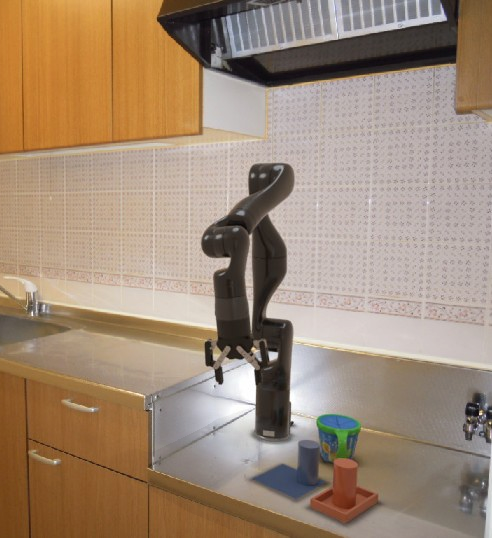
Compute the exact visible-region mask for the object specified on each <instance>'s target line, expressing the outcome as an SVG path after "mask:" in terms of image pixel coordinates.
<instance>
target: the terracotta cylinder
mask: <svg viewBox="0 0 492 538" xmlns="http://www.w3.org/2000/svg"><path fill="white" fill-rule="evenodd" d="M358 471H359V463H358V462H356V461H355V460H354V459H353V460H350V459H346V458H338V459H335V460H334V464H333V471H332V486H333V492H332V502H333V504H334V505H336V506H337V507H340V508H344V509H351V508H353V507H354V506H356V494H357V486H358Z"/></svg>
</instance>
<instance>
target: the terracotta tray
mask: <svg viewBox="0 0 492 538" xmlns="http://www.w3.org/2000/svg"><path fill="white" fill-rule="evenodd" d="M332 492H333V485H332V486H330V487H329V488H327V489H325V490H323V491H322V492H320V493H318V494H316V495H315V496H313V497H311V498H310V499H309V500H310V501H309V502H310V503H309V506H310V508H311V509H313V510H315V511H317V512H320V513H321V514H324V515H326V516H328V517H331V518H333V519H335V520H337V521H340V522H342V523H344V524H347V523H349V522H350V521H351V520H353V519H355V518H357V517H358V516H359V515H361V514H362V513H364V512H365V511H367V510H368V509H369V508H371V507H372V506H374V505H376V504H377V503H378V501H379V493H377V492H375V491H372V490H370V489H367V488H365V487H362V486H360V485H357V494H356V506H354V507H353V508H351V509H344V508H340V507H337V506H336V505H334V504H333V502H332Z"/></svg>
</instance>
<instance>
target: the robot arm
mask: <svg viewBox="0 0 492 538" xmlns="http://www.w3.org/2000/svg"><path fill="white" fill-rule="evenodd" d="M295 176H296V175H295V171H294V169H293V166H292V165H291V164H289V163H287V162H259V163H253V164H252V165H251V166H250V169H249V171H248V177H247V191H248V195H247V196H246V197H244V198H242V199H240V200H239V201H238V202H236V203H235V205H234V206H233V207H232V208H231V209H230V211H229V212H228V213H227V214H226V215H224V216H222V217H220V218H219V219H218V220H216V221H215V222H212V223H211V224H210V225H209V226H208V227H207V228H206V229H205V230H204V232H203V233H202V236H201V240H200V247H201V250H202V253H203V254H204V255H205V256H207V257H208V258H210V259H230V260H229V264H228V266H227V267H223V268H219V269H216V270H215V271H214V273H213V274H212V283H213V292H214V316H215V323H216V324H215V326H216V334H217V340H214V339H212V338H208V339H207V340H205V341H204V364H205V366H206V367H210V368H212V369H213V370H214V380H215V382H216V383H217V384H218V385H219V386H220V385H221V386H222V385H223V384H224V381H225V380H224V371H223V366H222V365H223V362H224V361H225V359H228V360H231V361H233V360H239V361H243V360H244V359H245V361H246V362H247V363H249V364H250V365H251V366H252V367H253V368H254V369H253V373H254V374H253V375H254V385H255V405H254V406H255V408H254V409H255V410H254V411H255V413H254V436H255V437H256V438H258V439H259V440H262V441H265V442H270V443H280V442H284V441H288V439H289V438H290V435H291V428H292V427H291V426H293V425H294V423H295V422H294V421H293V420H292V402H291V376H292V375H291V373H292V358H293V357H292V355H293V345H294V333H295V332H294V325H293V323H292V321H291V320H289V319H284V318H276V317H275V318H273V317H267V310H268V307H269V306H268V305H269V304H270V301H271V300H272V298H273V296H274V294H275V293H276V291H277V290H278V288H279V287H280V286H281V284H282V282H283V281H284V279H285V278H286V275H287V273H288V249H287V248H288V247H287V245H286V243H285V240H284V239H283V237H282V236H281V234H280V233H279V231H278V230H277V228H276V227H275V225H274V223H273V222H272V219H271V217H270V215H269V214H270V212H271V211H273V210H274V209H275V208H277V207H278V206H279V205H280V204H282V203H283V202H284V201H285V200H287V199H288V198H289V197H290V195H292V193H293V190H294V188H295V183H296V177H295ZM250 236H251V237H250ZM250 238H251V239H250ZM250 245H251V246H250ZM250 247H251V276H252V311H251V313H252V314H251V316H250V305H249V299H248V295H247V285H246V269H247V261H248V256H249V251H250ZM216 347H217V349H219V351H220V352H221V353H220V355H219V356H218V358H217V359H216V360H215V359H214V349H215V348H216ZM253 348H254V349H255V350H258V351H259V352H260V357H261V358H260V359H261V360H260V359H259V358H258V356H257V355H256V353H255V352H254V351H253V350H252V349H253ZM270 353H277V356H276V358H273V359H270Z"/></svg>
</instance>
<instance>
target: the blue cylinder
mask: <svg viewBox="0 0 492 538" xmlns="http://www.w3.org/2000/svg"><path fill="white" fill-rule="evenodd" d="M320 454H321V451H320V442H318V441H315V440H311V439H301V440H299V441H298V442H297V459H296V460H297V462H296V470H297V481H298V482H299V483H300V484H302V485H306V486H315V485H317V484H318V479H320V477H319V475H320Z"/></svg>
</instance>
